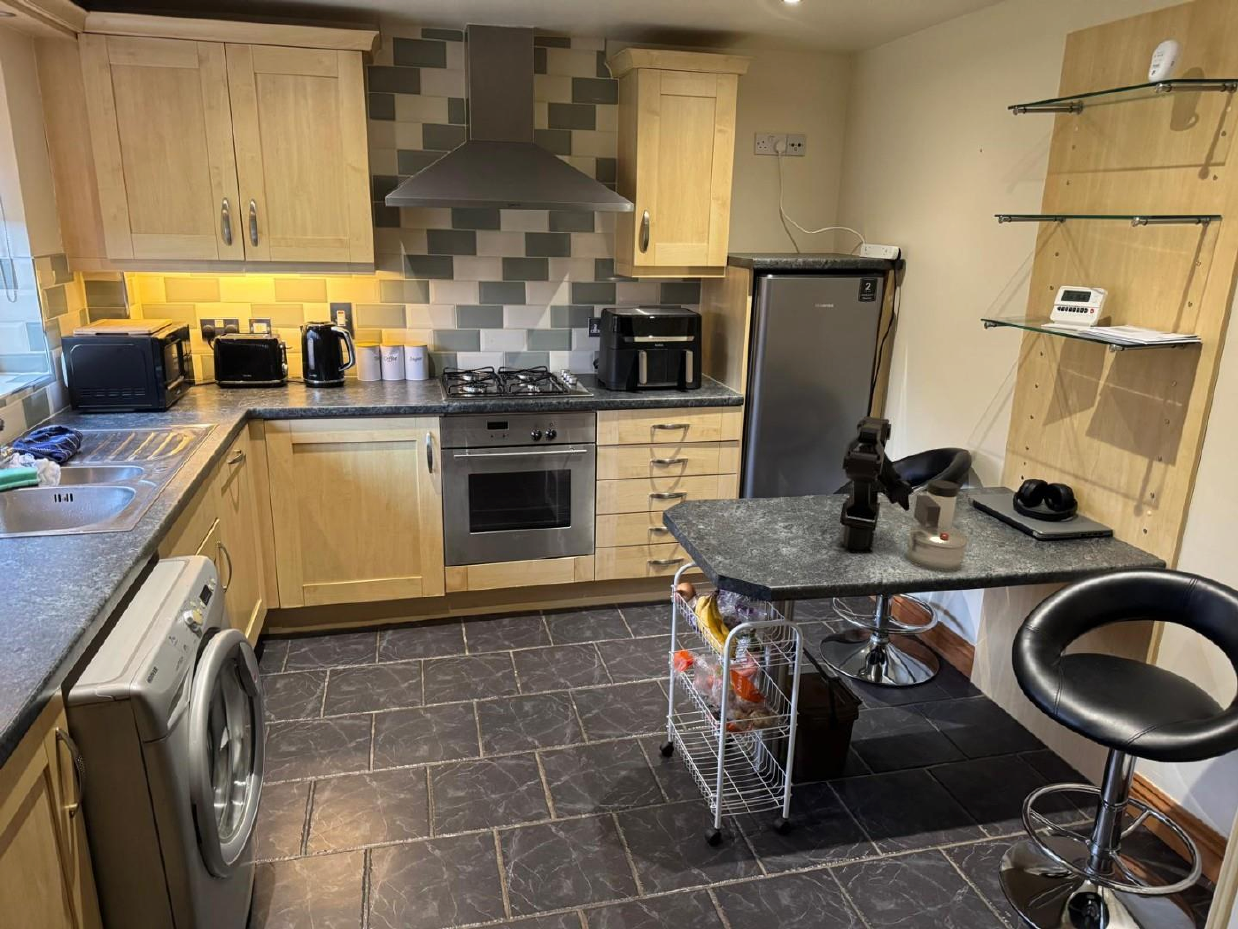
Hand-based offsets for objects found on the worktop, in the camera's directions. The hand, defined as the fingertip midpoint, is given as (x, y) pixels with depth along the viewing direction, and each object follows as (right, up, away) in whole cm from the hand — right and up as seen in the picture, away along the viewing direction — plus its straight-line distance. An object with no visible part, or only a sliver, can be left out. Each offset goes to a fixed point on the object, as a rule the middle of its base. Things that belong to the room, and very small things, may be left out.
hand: (907, 510), depth 219 cm
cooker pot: (+5, -12, -7) cm, 14 cm away
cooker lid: (+4, -5, -7) cm, 10 cm away
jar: (+14, -5, +18) cm, 24 cm away
